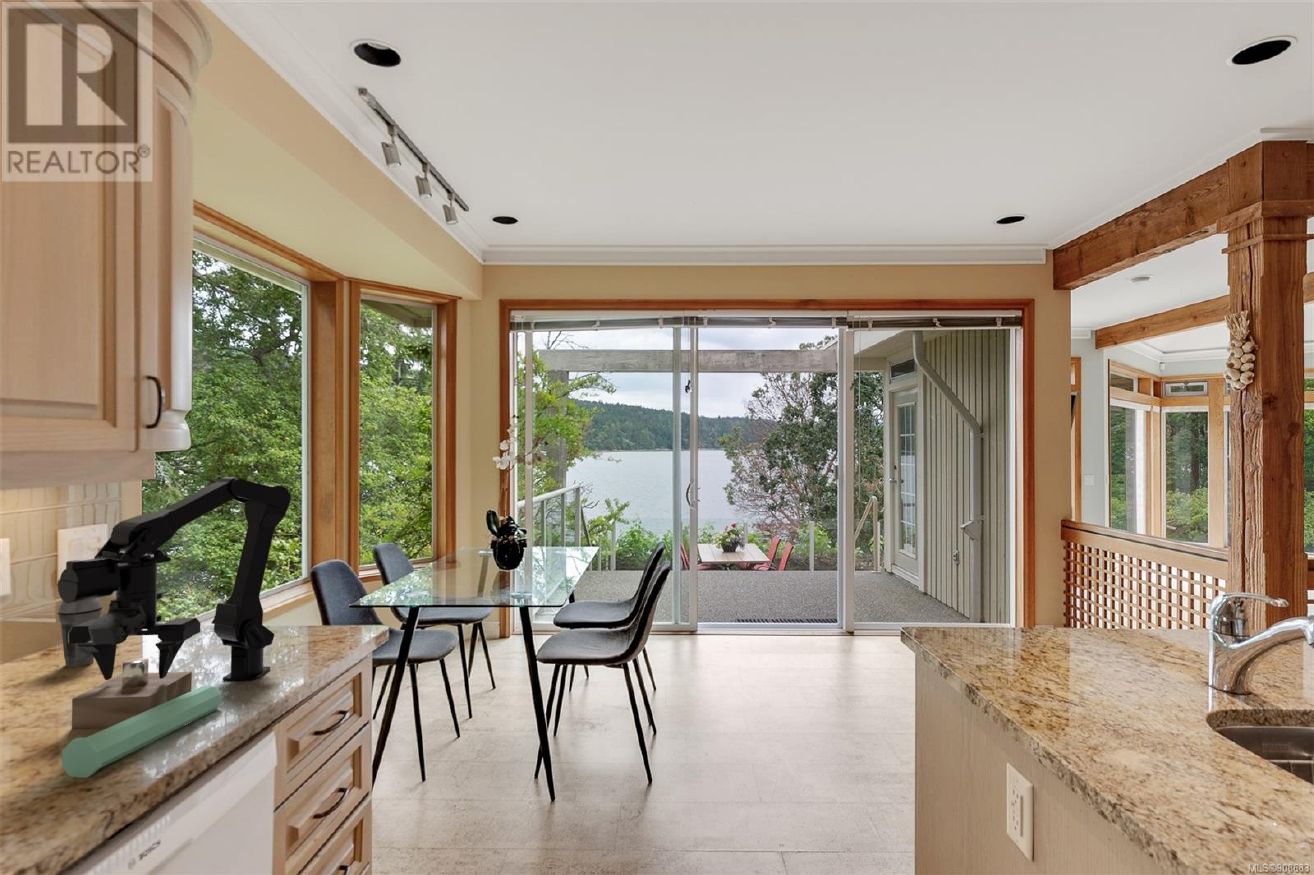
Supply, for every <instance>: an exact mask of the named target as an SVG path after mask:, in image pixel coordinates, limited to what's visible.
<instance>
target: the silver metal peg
mask: <svg viewBox="0 0 1314 875" xmlns="http://www.w3.org/2000/svg"><path fill="white" fill-rule="evenodd" d="M148 673H149V658H147V657H141V658H140V657H139V658H132V659H129V660H126V661H123V662H122V674H123V677H122V687H124V688H132V687H139V686H142V685H144V684H147V683H148Z"/></svg>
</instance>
